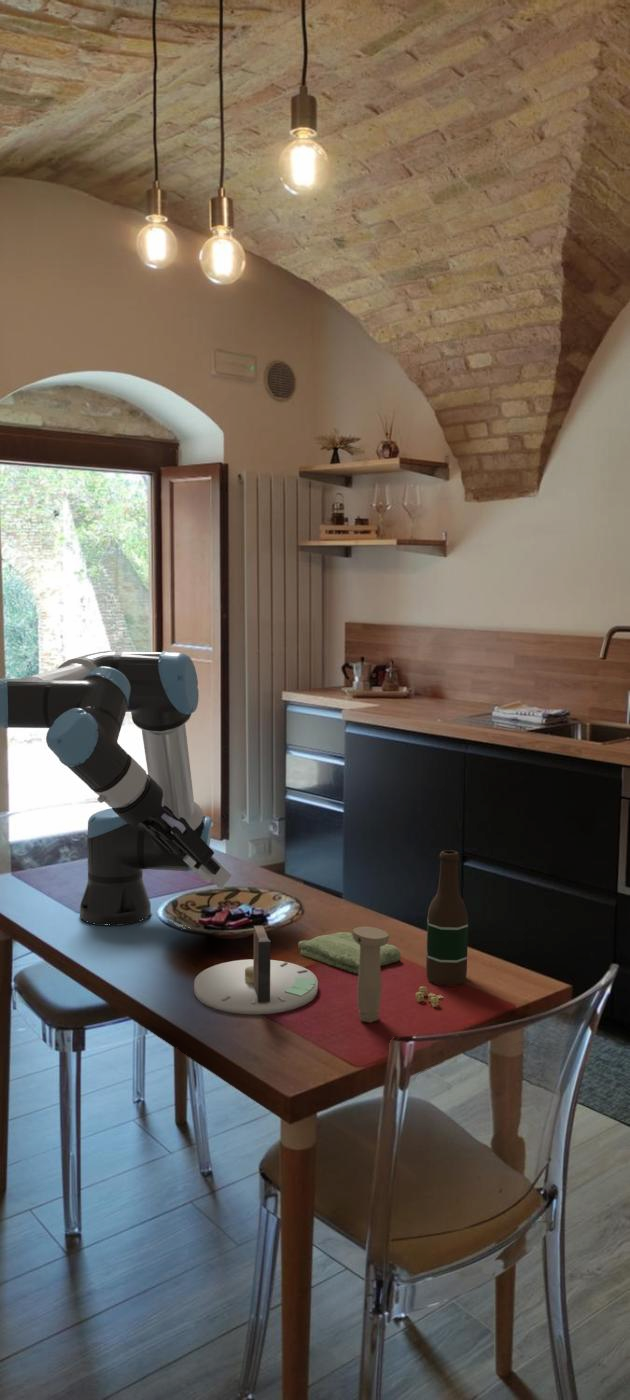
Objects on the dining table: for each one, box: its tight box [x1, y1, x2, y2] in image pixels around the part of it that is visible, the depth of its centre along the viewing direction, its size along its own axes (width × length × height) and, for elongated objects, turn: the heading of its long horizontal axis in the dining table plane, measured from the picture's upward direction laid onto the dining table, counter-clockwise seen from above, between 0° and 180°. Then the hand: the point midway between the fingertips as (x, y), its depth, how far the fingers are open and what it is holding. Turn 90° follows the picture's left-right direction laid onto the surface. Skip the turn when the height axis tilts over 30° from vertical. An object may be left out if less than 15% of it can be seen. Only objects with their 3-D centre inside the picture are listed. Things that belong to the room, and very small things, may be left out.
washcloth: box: [297, 931, 402, 975], centre depth 206 cm, size 13×18×3 cm
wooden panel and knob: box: [245, 925, 272, 1003], centre depth 183 cm, size 13×4×11 cm, turn 10°
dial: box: [193, 958, 319, 1015], centre depth 188 cm, size 22×22×2 cm
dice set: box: [415, 986, 444, 1006], centre depth 185 cm, size 5×5×2 cm
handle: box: [352, 925, 390, 1024], centre depth 175 cm, size 5×6×15 cm
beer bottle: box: [425, 849, 469, 986], centre depth 193 cm, size 8×8×24 cm
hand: (218, 878), depth 172 cm, fingers open, 3 cm apart
